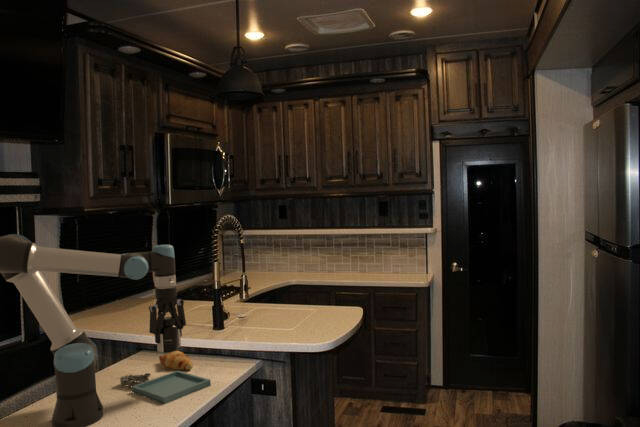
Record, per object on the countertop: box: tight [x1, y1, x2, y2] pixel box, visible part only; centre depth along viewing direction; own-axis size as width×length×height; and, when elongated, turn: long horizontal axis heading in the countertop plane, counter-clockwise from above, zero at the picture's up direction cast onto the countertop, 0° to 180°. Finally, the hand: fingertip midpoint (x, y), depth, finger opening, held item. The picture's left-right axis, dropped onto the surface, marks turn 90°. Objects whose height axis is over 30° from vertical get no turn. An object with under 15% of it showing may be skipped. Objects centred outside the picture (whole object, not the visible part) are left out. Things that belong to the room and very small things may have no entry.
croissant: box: [158, 350, 194, 371], centre depth 217 cm, size 21×10×8 cm, turn 54°
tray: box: [131, 370, 212, 405], centre depth 190 cm, size 20×20×2 cm
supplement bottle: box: [160, 316, 180, 354], centre depth 190 cm, size 7×7×12 cm
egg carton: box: [118, 372, 152, 388], centre depth 197 cm, size 11×8×4 cm
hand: (169, 348), depth 190 cm, fingers closed on supplement bottle, 7 cm apart
